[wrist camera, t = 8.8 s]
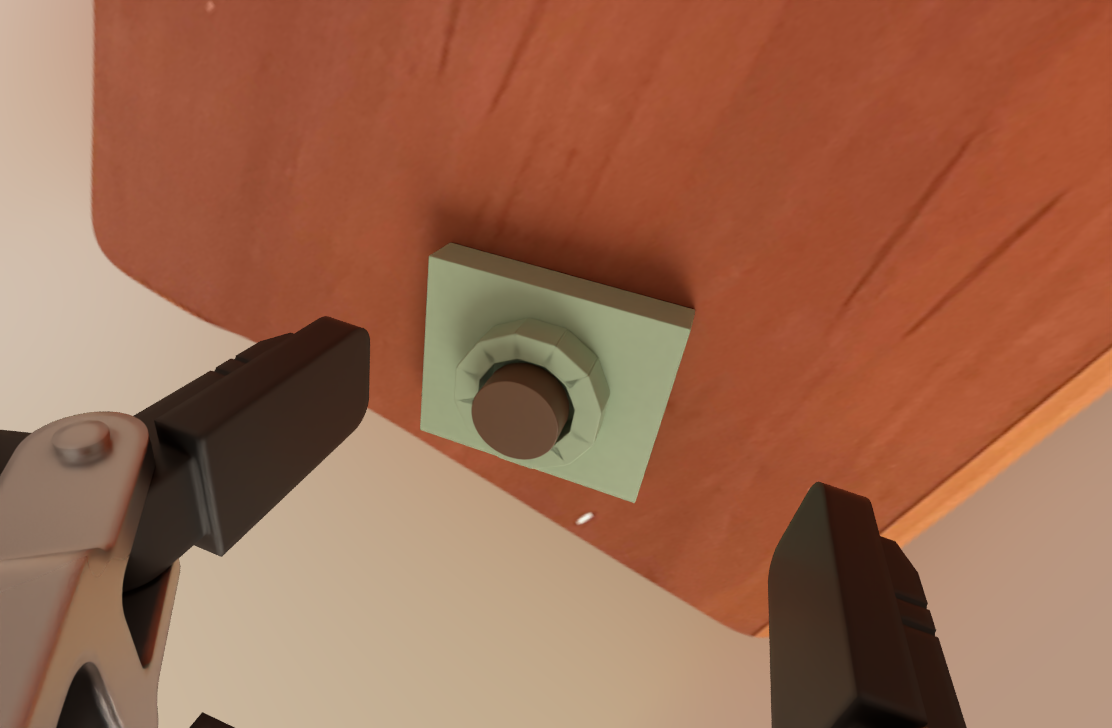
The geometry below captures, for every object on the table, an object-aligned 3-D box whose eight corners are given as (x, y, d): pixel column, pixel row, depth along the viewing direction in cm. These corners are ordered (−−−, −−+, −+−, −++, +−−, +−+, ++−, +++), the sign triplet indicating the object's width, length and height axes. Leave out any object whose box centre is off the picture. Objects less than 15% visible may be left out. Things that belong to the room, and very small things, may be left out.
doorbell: (695, 309, 25) (686, 348, 22) (642, 476, 31) (627, 528, 27) (450, 241, 28) (408, 268, 24) (438, 408, 33) (402, 449, 29)
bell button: (576, 377, 25) (565, 398, 23) (561, 448, 27) (550, 471, 25) (491, 351, 25) (475, 369, 24) (482, 422, 27) (467, 443, 26)
